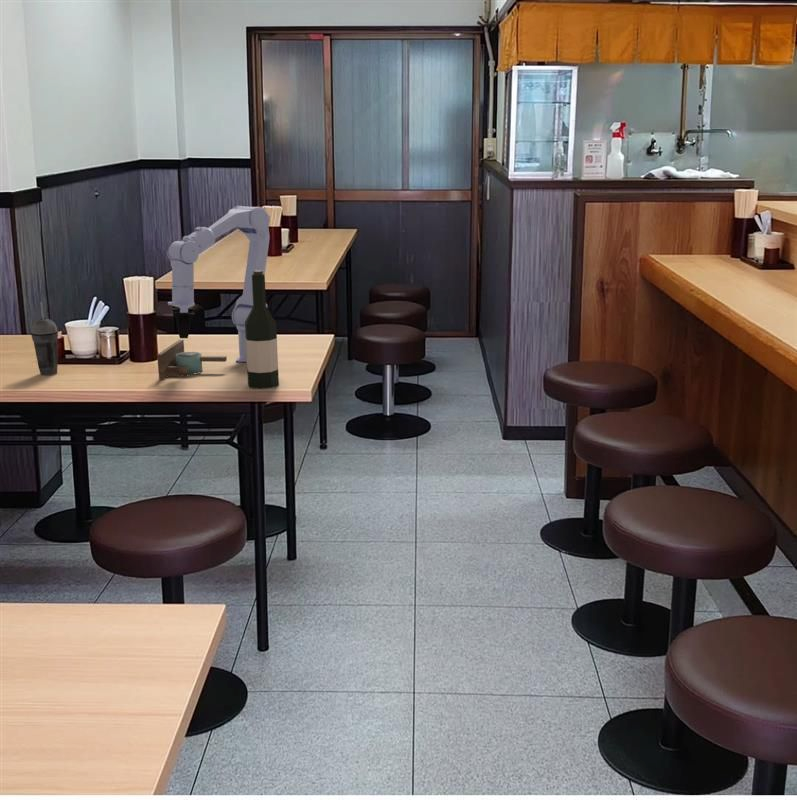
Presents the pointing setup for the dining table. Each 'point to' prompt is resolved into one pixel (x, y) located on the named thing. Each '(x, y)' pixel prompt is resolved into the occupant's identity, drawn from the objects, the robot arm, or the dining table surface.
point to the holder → (171, 361)
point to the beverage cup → (45, 344)
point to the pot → (196, 360)
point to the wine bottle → (261, 339)
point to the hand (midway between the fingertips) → (183, 336)
